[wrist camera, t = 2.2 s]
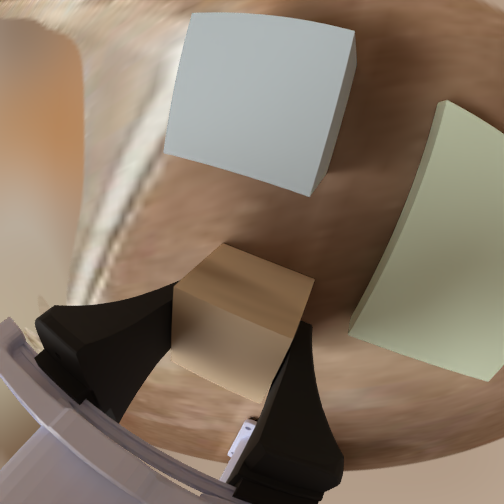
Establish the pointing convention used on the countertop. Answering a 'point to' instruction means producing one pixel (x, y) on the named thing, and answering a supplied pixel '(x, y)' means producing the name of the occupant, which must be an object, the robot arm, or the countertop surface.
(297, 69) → the slate brick
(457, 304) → the baseplate
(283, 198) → the countertop surface
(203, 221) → the countertop surface
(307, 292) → the oak brick
